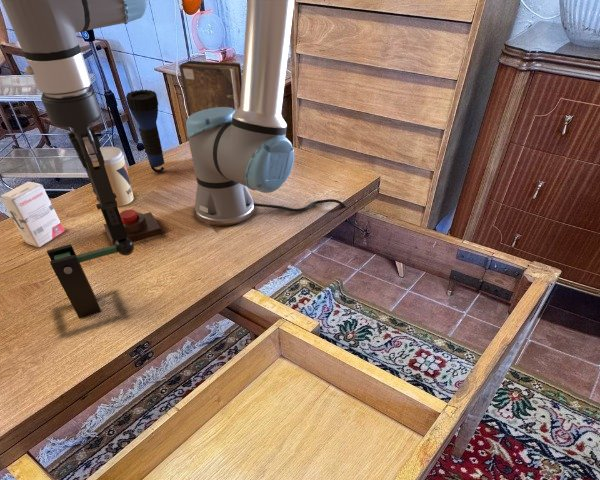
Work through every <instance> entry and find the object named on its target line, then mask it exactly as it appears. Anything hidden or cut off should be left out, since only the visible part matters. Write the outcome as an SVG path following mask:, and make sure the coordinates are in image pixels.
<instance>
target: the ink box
mask: <svg viewBox="0 0 600 480" xmlns="http://www.w3.org/2000/svg"><path fill="white" fill-rule="evenodd" d="M0 201H1V202H2V204H3V206H4V207H5V209H6V210H7V212H8V214H9V216H10V218H11V219H12V221H13V222H14V225H15V226H16V228H17V230H18V231H19V233H20V235H21V237H22V238H23V240H24V242H25V243H26V244H28V245H31V246H34V247H36V248H41V247H42V246H44V245H46V244H47V243H48V242H50V241H51V240H53V239H55V238H56V237H58V236H59V235H61V234H62V233H64V232H65V228H64V227H63V224H62V222H61V220H60V219H59V216H58V214H57V212H56V210H55V208H54V206H53V204H52V202H51V200H50V197H49V196H48V194H47V192H46V190H45V188H44V186H43V184H42V183H37V182H33V181H26V182H24V183H22V184H21V185H19V186H16V187H15V188H13V189H11V190H9V191H7V192H5V193H2V194H1V195H0Z"/></svg>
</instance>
